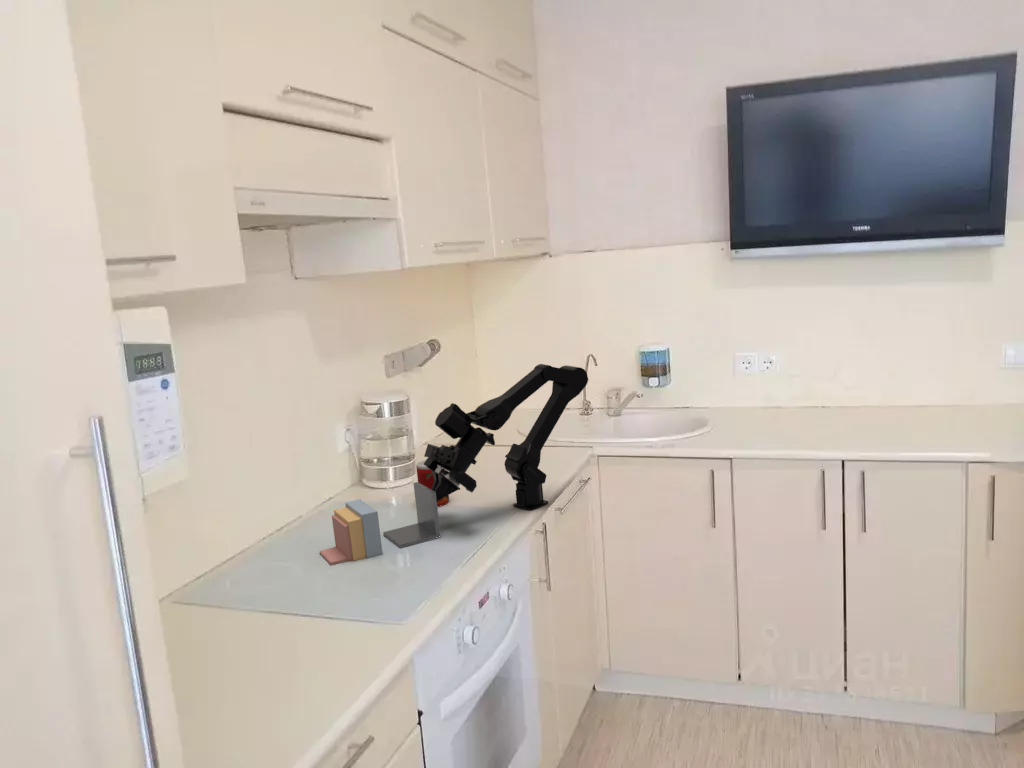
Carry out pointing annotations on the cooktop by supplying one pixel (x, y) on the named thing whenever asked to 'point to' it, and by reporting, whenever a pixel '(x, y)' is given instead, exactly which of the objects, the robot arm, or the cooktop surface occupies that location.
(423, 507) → the bookend
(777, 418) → the cooktop surface
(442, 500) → the canned food
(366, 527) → the book row
